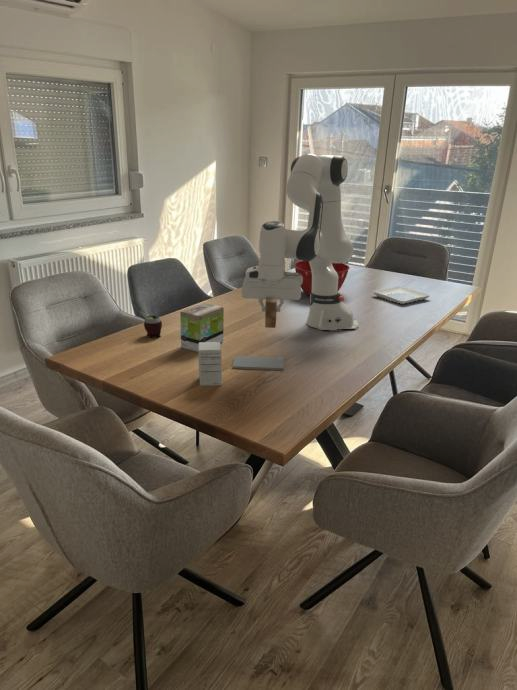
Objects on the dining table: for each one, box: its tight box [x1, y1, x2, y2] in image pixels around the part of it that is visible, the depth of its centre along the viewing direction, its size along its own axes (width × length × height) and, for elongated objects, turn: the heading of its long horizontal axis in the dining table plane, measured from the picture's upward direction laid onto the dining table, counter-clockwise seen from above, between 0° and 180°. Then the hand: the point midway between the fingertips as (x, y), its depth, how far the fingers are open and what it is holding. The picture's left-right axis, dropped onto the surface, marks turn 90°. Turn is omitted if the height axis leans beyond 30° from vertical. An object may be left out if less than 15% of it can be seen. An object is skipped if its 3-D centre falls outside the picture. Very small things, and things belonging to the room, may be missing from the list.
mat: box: [231, 355, 285, 371], centre depth 190 cm, size 18×10×1 cm, turn 86°
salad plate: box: [371, 285, 431, 305], centre depth 271 cm, size 21×21×3 cm
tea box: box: [179, 302, 225, 353], centre depth 204 cm, size 15×10×15 cm, turn 148°
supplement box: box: [197, 342, 223, 387], centre depth 174 cm, size 7×7×13 cm
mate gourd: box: [143, 298, 166, 339], centre depth 213 cm, size 8×8×15 cm
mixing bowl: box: [293, 260, 351, 296], centre depth 274 cm, size 28×28×15 cm
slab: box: [264, 297, 278, 329], centre depth 182 cm, size 4×8×10 cm, turn 176°
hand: (271, 311), depth 183 cm, fingers closed on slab, 3 cm apart
